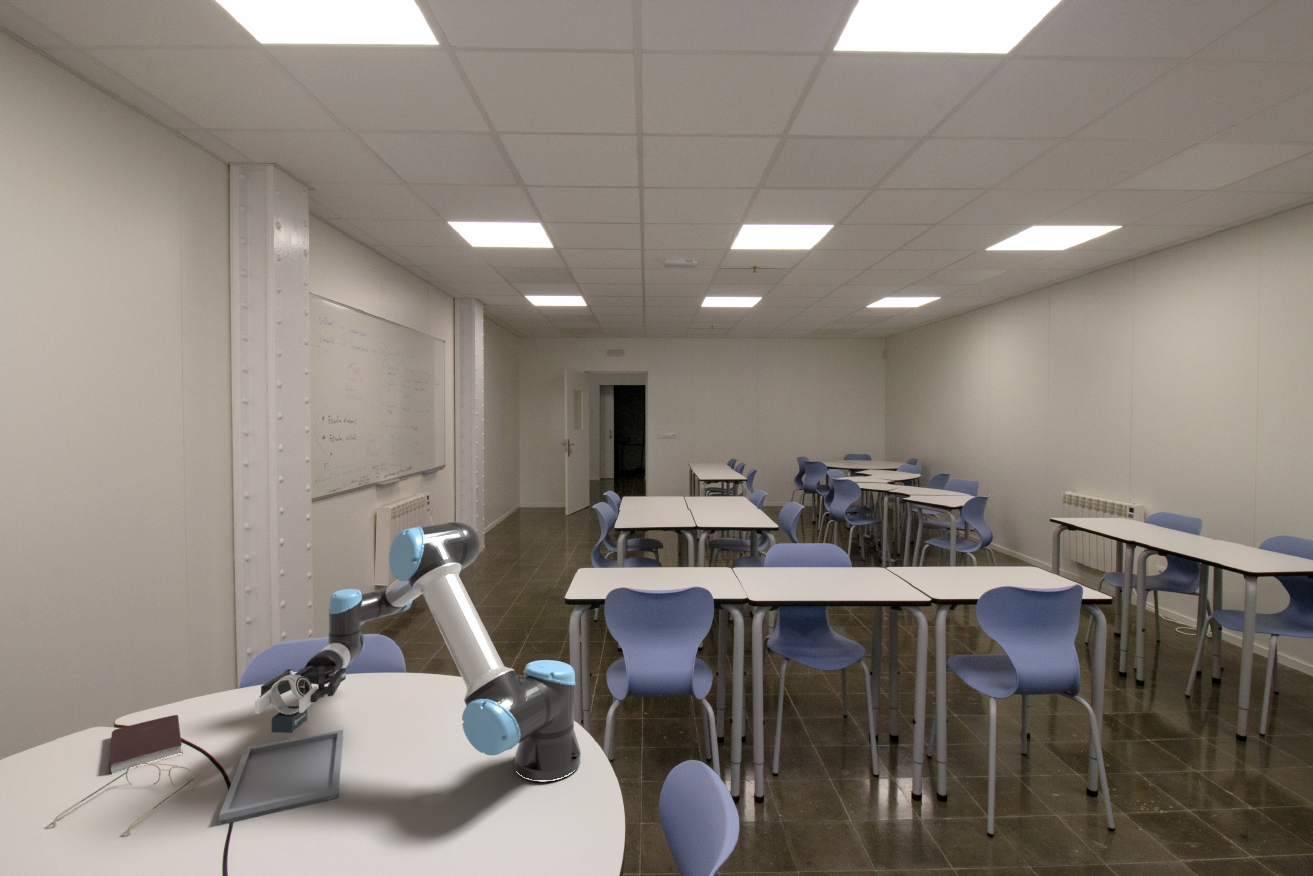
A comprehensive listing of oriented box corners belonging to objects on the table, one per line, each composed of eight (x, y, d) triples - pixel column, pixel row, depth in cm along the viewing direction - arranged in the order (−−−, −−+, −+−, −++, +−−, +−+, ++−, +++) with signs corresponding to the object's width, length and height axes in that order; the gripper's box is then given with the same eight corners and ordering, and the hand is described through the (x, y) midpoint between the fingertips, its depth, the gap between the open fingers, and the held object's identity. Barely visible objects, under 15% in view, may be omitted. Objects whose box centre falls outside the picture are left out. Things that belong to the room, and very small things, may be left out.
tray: (338, 797, 119) (338, 788, 119) (219, 825, 110) (219, 814, 110) (342, 737, 142) (343, 729, 142) (245, 756, 133) (245, 747, 133)
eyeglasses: (200, 789, 121) (200, 766, 121) (128, 838, 106) (128, 812, 106) (132, 783, 123) (132, 760, 123) (52, 830, 108) (52, 804, 108)
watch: (301, 733, 123) (302, 682, 123) (263, 732, 123) (264, 681, 123) (315, 720, 129) (317, 671, 129) (279, 719, 128) (280, 670, 128)
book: (107, 777, 124) (108, 762, 124) (111, 741, 139) (111, 727, 139) (182, 757, 133) (182, 743, 133) (178, 725, 147) (179, 712, 147)
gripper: (370, 678, 145) (330, 723, 122) (283, 680, 142) (225, 726, 120) (371, 648, 145) (331, 688, 122) (283, 650, 142) (226, 690, 120)
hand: (279, 707), depth 121 cm, fingers closed on watch, 8 cm apart
